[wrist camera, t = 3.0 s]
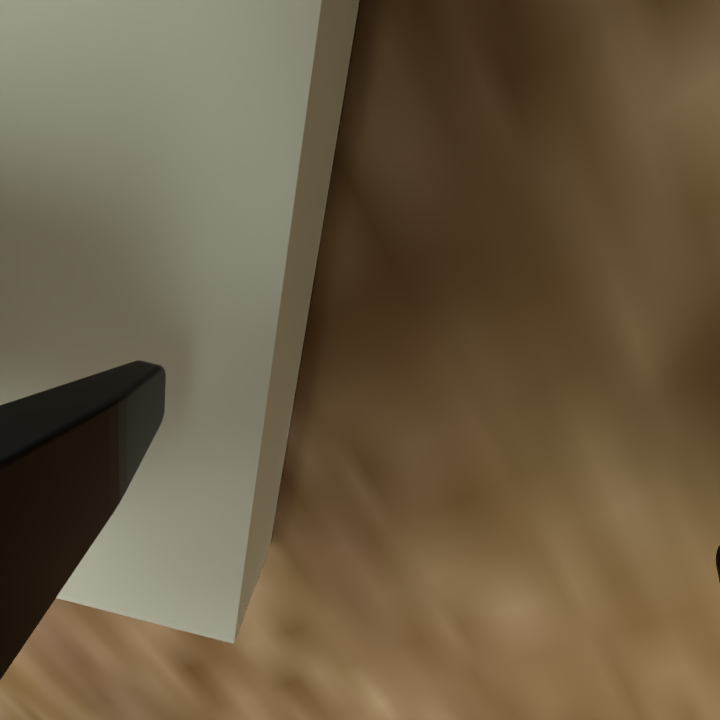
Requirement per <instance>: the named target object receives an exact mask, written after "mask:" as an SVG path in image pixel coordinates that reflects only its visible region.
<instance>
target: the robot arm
mask: <svg viewBox="0 0 720 720" xmlns="http://www.w3.org/2000/svg"><path fill="white" fill-rule="evenodd" d="M165 386H166V373H165V369H164V368H163V367H162V366H161V365H157V364H153V363H149V362H145V361H141V360H137V361H133V362H130V363H127V364H124V365H121V366H118V367H115V368H112V369H109V370H106V371H103V372H100V373H97V374H94V375H91V376H88V377H85V378H82V379H79V380H76V381H73V382H69V383H66V384H63V385H60V386H57V387H54V388H51V389H48V390H45V391H42V392H39V393H36V394H33V395H30V396H27V397H24V398H21V399H18V400H15V401H12V402H9V403H5V404H2V405H0V680H1V678H2V677H3V675H4V674H5V672H6V671H7V669H8V668H9V666H10V665H11V663H12V662H13V660H14V659H15V657H16V656H17V654H18V653H19V652H20V650H21V649H22V647H23V646H24V644H25V643H26V641H27V640H28V638H29V637H30V635H31V634H32V632H33V631H34V629H35V628H36V626H37V625H38V624H39V622H40V621H41V619H42V618H43V616H44V615H45V613H46V612H47V610H48V609H49V607H50V606H51V604H52V603H53V601H54V600H55V598H56V597H57V596H58V594H59V593H60V591H61V590H62V588H63V587H64V585H65V584H66V582H67V581H68V579H69V578H70V576H71V575H72V573H73V572H74V570H75V569H76V567H77V566H78V565H79V563H80V562H81V560H82V559H83V557H84V556H85V554H86V553H87V551H88V550H89V548H90V547H91V545H92V544H93V542H94V541H95V539H96V538H97V537H98V535H99V534H100V532H101V531H102V529H103V528H104V526H105V525H106V523H107V522H108V520H109V519H110V517H111V516H112V514H113V513H114V511H115V510H116V508H117V506H118V505H119V503H120V502H121V500H122V498H123V496H124V494H125V493H126V491H127V489H128V487H129V485H130V483H131V481H132V479H133V477H134V475H135V473H136V471H137V469H138V468H139V466H140V464H141V462H142V460H143V458H144V456H145V454H146V452H147V450H148V448H149V446H150V444H151V442H152V440H153V439H154V437H155V435H156V433H157V431H158V429H159V427H160V425H161V423H162V420H163V416H164V411H165ZM716 566H717V571H718V576H719V581H720V545H719V547H718V550H717V554H716Z"/></svg>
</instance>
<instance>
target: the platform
mask: <svg viewBox="0 0 720 720" xmlns="http://www.w3.org/2000/svg"><path fill="white" fill-rule="evenodd" d="M359 1H360V0H0V405H2V404H5V403H9V402H12V401H15V400H18V399H21V398H24V397H27V396H30V395H33V394H36V393H39V392H42V391H45V390H48V389H51V388H54V387H57V386H60V385H63V384H66V383H69V382H73V381H76V380H79V379H82V378H85V377H88V376H91V375H94V374H97V373H100V372H103V371H106V370H109V369H112V368H115V367H118V366H121V365H124V364H127V363H130V362H133V361H137V360H141V361H145V362H149V363H153V364H157V365H161V366H162V367H163V368H164V369H165V373H166V386H165V411H164V416H163V420H162V423H161V425H160V427H159V429H158V431H157V433H156V435H155V437H154V439H153V440H152V442H151V444H150V446H149V448H148V450H147V452H146V454H145V456H144V458H143V460H142V462H141V464H140V466H139V468H138V469H137V471H136V473H135V475H134V477H133V479H132V481H131V483H130V485H129V487H128V489H127V491H126V493H125V494H124V496H123V498H122V500H121V502H120V503H119V505H118V506H117V508H116V510H115V511H114V513H113V514H112V516H111V517H110V519H109V520H108V522H107V523H106V525H105V526H104V528H103V529H102V531H101V532H100V534H99V535H98V537H97V538H96V539H95V541H94V542H93V544H92V545H91V547H90V548H89V550H88V551H87V553H86V554H85V556H84V557H83V559H82V560H81V562H80V563H79V565H78V566H77V567H76V569H75V570H74V572H73V573H72V575H71V576H70V578H69V579H68V581H67V582H66V584H65V585H64V587H63V588H62V590H61V591H60V593H59V594H58V596H57V597H56V598H58V599H62V600H66V601H70V602H74V603H78V604H82V605H85V606H89V607H93V608H97V609H101V610H105V611H109V612H112V613H116V614H120V615H124V616H128V617H132V618H136V619H139V620H143V621H147V622H151V623H155V624H159V625H163V626H166V627H170V628H174V629H178V630H182V631H186V632H190V633H193V634H197V635H201V636H205V637H209V638H213V639H217V640H220V641H224V642H228V643H232V644H234V642H235V639H236V637H237V634H238V631H239V628H240V626H241V623H242V620H243V618H244V615H245V612H246V609H247V607H248V604H249V601H250V599H251V596H252V593H253V591H254V588H255V585H256V582H257V580H258V577H259V574H260V572H261V569H262V566H263V563H264V561H265V558H266V555H267V553H268V550H269V547H270V544H271V538H272V532H273V526H274V520H275V513H276V507H277V501H278V495H279V489H280V483H281V477H282V471H283V465H284V458H285V452H286V446H287V440H288V434H289V428H290V422H291V416H292V410H293V404H294V397H295V391H296V385H297V379H298V373H299V367H300V361H301V355H302V349H303V343H304V336H305V330H306V324H307V318H308V312H309V306H310V300H311V294H312V288H313V281H314V275H315V269H316V263H317V257H318V251H319V245H320V239H321V233H322V227H323V220H324V214H325V208H326V202H327V196H328V190H329V184H330V178H331V172H332V165H333V159H334V153H335V147H336V141H337V135H338V129H339V123H340V117H341V111H342V104H343V98H344V92H345V86H346V80H347V74H348V68H349V62H350V56H351V50H352V43H353V37H354V31H355V25H356V19H357V13H358V7H359Z"/></svg>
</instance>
